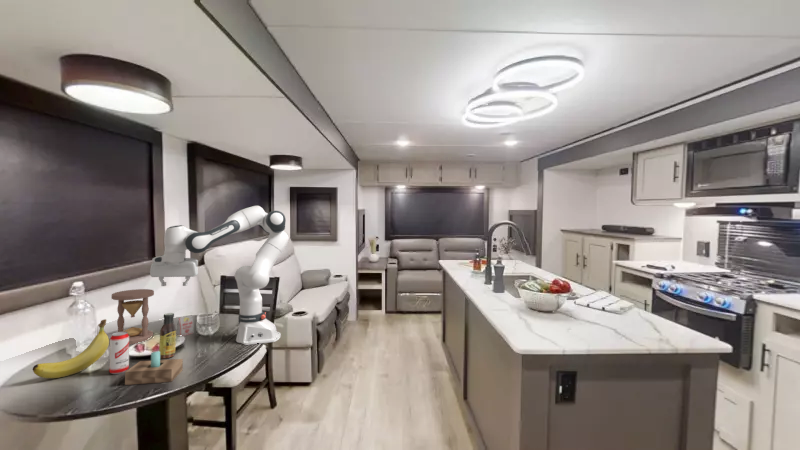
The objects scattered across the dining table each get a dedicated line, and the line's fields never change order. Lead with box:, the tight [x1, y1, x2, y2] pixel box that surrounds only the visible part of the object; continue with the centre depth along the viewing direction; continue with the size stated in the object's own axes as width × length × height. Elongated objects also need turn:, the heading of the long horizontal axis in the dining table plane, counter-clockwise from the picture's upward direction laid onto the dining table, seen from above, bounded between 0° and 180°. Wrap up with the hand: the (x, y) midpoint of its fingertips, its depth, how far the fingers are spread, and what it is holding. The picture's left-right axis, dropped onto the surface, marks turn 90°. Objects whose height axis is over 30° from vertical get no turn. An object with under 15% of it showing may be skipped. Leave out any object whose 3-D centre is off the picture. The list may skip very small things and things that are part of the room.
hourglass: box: [111, 288, 155, 346], centre depth 176 cm, size 18×18×25 cm
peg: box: [150, 350, 161, 368], centre depth 134 cm, size 3×3×10 cm
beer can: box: [108, 331, 130, 375], centre depth 139 cm, size 6×6×16 cm
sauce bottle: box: [158, 312, 177, 360], centre depth 155 cm, size 7×6×20 cm
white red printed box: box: [176, 314, 194, 337], centre depth 185 cm, size 4×7×10 cm, turn 148°
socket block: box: [124, 358, 184, 386], centre depth 134 cm, size 16×10×5 cm, turn 102°
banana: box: [32, 318, 110, 379], centre depth 136 cm, size 23×6×20 cm, turn 147°
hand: (174, 285), depth 165 cm, fingers open, 8 cm apart
